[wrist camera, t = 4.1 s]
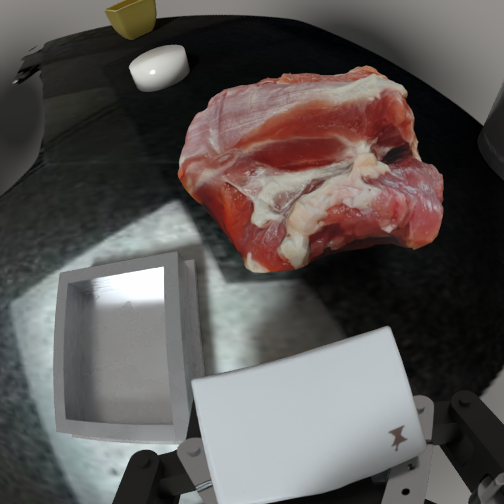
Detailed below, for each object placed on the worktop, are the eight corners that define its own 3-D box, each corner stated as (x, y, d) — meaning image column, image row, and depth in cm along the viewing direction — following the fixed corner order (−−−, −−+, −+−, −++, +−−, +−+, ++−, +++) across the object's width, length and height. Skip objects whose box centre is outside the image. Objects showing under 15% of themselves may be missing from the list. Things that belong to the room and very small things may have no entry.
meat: (204, 326, 21) (145, 265, 12) (182, 129, 31) (156, 51, 22) (460, 258, 21) (525, 183, 12) (363, 99, 31) (373, 25, 22)
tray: (195, 262, 23) (184, 243, 20) (214, 441, 17) (202, 448, 14) (76, 282, 23) (56, 267, 20) (76, 436, 17) (52, 437, 14)
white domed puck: (190, 59, 39) (185, 40, 36) (189, 83, 35) (183, 61, 32) (141, 72, 39) (134, 54, 36) (133, 98, 36) (124, 78, 32)
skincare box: (333, 366, 18) (396, 319, 8) (350, 426, 16) (434, 453, 6) (242, 390, 18) (185, 375, 8) (257, 450, 16) (219, 516, 6)
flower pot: (164, 28, 49) (155, -6, 41) (127, 46, 47) (115, 10, 39) (148, 24, 52) (139, -6, 45) (115, 41, 50) (103, 9, 43)
